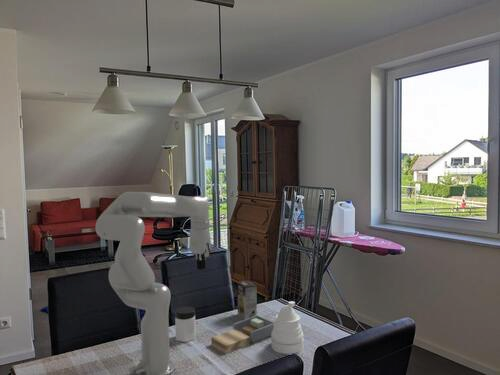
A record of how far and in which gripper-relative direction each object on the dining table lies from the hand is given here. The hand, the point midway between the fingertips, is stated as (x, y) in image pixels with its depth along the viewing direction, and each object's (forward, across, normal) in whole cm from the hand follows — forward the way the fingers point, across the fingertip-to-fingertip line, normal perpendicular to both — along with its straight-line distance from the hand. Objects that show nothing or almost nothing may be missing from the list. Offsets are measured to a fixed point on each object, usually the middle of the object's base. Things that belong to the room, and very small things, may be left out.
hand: (201, 268), depth 166 cm
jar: (+29, -4, -6) cm, 30 cm away
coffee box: (+29, -4, +28) cm, 41 cm away
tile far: (+26, +14, +17) cm, 34 cm away
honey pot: (+29, +31, +20) cm, 47 cm away
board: (+29, +14, +4) cm, 33 cm away
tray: (+29, +14, +17) cm, 36 cm away
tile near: (+28, +14, +14) cm, 35 cm away
